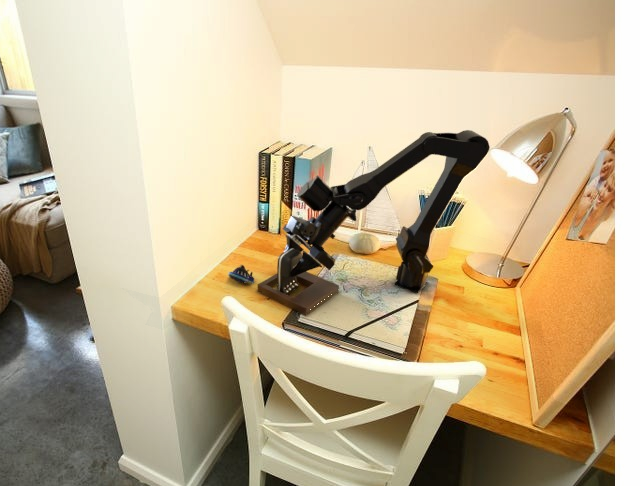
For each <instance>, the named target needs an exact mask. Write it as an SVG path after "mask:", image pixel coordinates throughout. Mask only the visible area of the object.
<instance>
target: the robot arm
mask: <svg viewBox="0 0 640 486" xmlns="http://www.w3.org/2000/svg"><path fill="white" fill-rule="evenodd" d="M490 149H491V148H490V143H489V141H488V139H487V138H486V137H484V136H482V135H480V134H479V133H477V132H475V131H473V130H470V129H466V130H462V131H460V132H457V133H456V132H433V131H432V132H431V131H428V132H424V133H422V134H421V135H420V136H419V137H418V138H417V139H415V140H414V141H413V142H412V143H410V144H409V145H407V146H406V147H405V148H403V149H401V150H400V151H399V152H398V153H396V154H395V155H394V156H392V157H391V158H389V159H388V160H386V161H385V162H383V163H382V164H381V165H379V166H378V167H377V168H375V169H374V170H372V171H370V172H367V173H363V174H360V175H359V176H356V177H354V178H353V179H350V180H349V181H347V183H344V184H339V185H332V186H329V185H328V184H327V183H326V182H325V180H323V178H322V177H321V176H320V175H316V176H315V177H314V178H312V179H310V180H308V181H306V182H305V183H304V185H302V186H301V188H300V189H299V191H298V192H297V195H296V196H297V197H298V199H300V200H301V202H303V203H304V204H305V205H306V206H308V208H309V209H310V210H312V211H313V212H318V213H319V212H320V213H319V214H318V215H317V217H316V218H315V217H314V216H312V217H310V218H309V219H304V218H301V217H298V216H295V215H290V217H289V219H288V222H287V223H286V224H285V225H284V226H283V227H282V228H281V229H282V230H283V231H284V232H285V238H286V245H285V248H284V250H283V252H285V251H286V250H288V249H290V248H293V249H295V250H298V251H300V252H301V253H302V258H301V260H300V261H299V262H298V264H297V265H296V266H295V267H294V269H293V270H292V271H291V273H290V276H291V277H294V276H297V275H299V274H301V273H304V272H308V271H311V270H314V269H316V268H323V267H324V268H326V269H327V270H329V271H331V269H332V268H334V266H335V265H336V259H335V258H334V257H333V256H332V255H330V254H329V253H328V252H327V251H326V250H325V247H324V246H323V245H324V244H325V243H326V242H327V241H328V240H329V239H330V238H331V239H332V240H334V239H335V238H336V235H335V234H334V233H335V232H336V231H337V230H338V229H339V228H340V227H341V226H342V224H343V223H344V222H345V221H346V220H347V219H349V220H350V221H353V222H357V211H362V210H363V209H365V208H366V207H368V206H369V205H370V204H371V203H372V202H373V201H374V200H375V199H376V198H377V197H378V195H379V194H380V193H381V191H382V190H383V189H384V188H385V187H387V186H388V185H389V184H391V183H393V182H394V181H395V180H396V179H398V178H399V177H401V176H402V175H404V174H405V173H406V172H409V171H410V170H411V169H413V168H414V167H415V166H417V165H418V164H420V163H421V162H423V161H424V160H426V159H427V158H428V157H430V156H431V155H435V156H442V157H445V162H444V168H443V170H442V172H441V174H440V176H439V178H438V179H437V181H436V183H435V184H434V187H433V188H432V190H431V192H430V194H429V195H428V198H427V200H426V201H425V203H424V205H423V207H422V209H420V212H419V213H418V216H417V217H416V219H415V221H414V222H413V223H412V224H411V225H410V226H409V227H406V226H405V225H404V226H402V227H401V229H400V233H399V234H398V235H397V236H396V237H395V241H396V243H395V246H396V249H397V251H398V253H399V256H400V258H401V260H402V261H401V263H400V265H399V266H398V267H397V272H396V277H395V280H396V281H394V283H393V285H394V286H395V287H397V288H401V289H404V290H407V291H410V292H412V293H414V294H419V293H420V292H421V291H422V290H423V289H424V288H425V287H427V285H428V283H429V282H428V281H427V279H428V275H429V273H430V272H431V271H432V270H433V268H434V264H433V263H432V261H431V259H430V258H429V256H428V251H429V248H430V246H431V239H432V234H433V232H434V229H435V228H436V226H437V225H438V222H439V221H440V220H441V218H442V216H443V215H444V213H445V212H446V210H447V208H448V206H449V205H450V202H451V201H452V199H453V198H454V196H455V194H456V192H457V191H458V189H459V187H460V185H461V184H462V182H463V180H464V179H465V178H466V177H467V176H468V175H470V174H471V173H473V171H475V170H476V169H477V168H478V167H479V165H481V163H482V162H484V161H483V160H485V158H486V157H487V156H488V154H489V152H490ZM301 245H302V246H304V247H305V248H306V249H307V250H309V251H308V252H306V251H305V250H304V248H303V247H302V246H301Z"/></svg>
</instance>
